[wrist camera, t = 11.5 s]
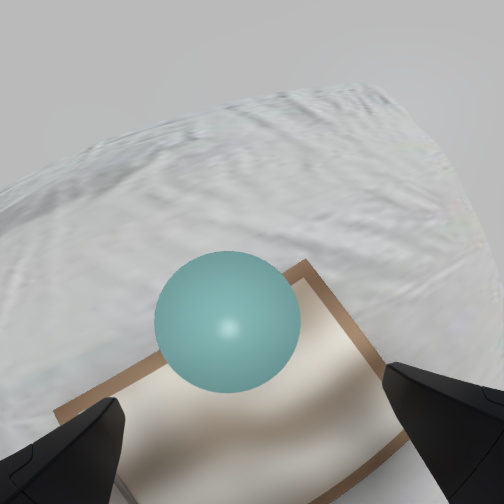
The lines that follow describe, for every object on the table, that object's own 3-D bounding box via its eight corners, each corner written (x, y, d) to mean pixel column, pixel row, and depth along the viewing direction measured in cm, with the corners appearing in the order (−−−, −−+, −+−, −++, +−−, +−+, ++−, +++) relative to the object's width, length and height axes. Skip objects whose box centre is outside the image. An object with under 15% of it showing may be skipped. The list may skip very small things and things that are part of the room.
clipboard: (423, 421, 16) (436, 422, 14) (172, 573, 11) (167, 584, 9) (304, 260, 21) (309, 250, 19) (56, 410, 16) (43, 410, 14)
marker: (282, 367, 17) (329, 338, 7) (231, 399, 16) (202, 420, 6) (248, 318, 18) (248, 227, 8) (198, 349, 17) (131, 296, 7)
